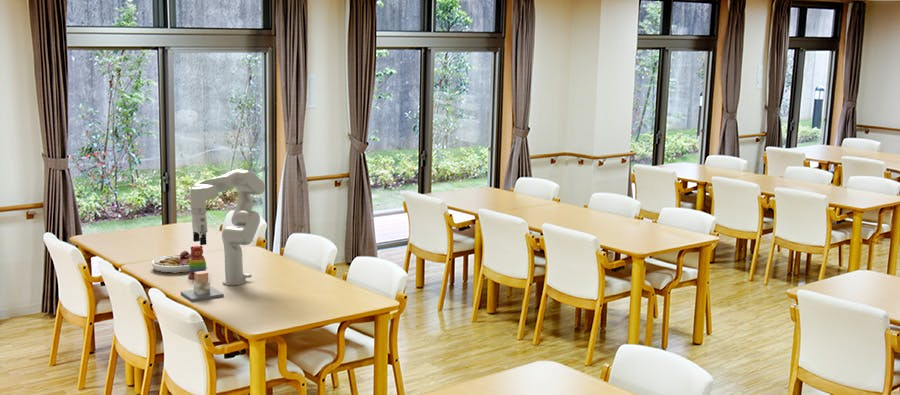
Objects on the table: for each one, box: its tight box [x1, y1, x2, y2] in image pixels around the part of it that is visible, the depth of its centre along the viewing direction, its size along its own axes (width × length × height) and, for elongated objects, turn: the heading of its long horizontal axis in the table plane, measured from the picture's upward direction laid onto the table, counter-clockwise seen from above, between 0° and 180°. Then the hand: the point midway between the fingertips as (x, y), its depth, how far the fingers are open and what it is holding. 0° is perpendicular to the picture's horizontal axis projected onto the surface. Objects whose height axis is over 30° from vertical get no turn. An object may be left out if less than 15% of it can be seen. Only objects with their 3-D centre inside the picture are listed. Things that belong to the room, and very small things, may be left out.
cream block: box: [193, 280, 211, 295], centre depth 490 cm, size 6×6×6 cm
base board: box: [180, 286, 225, 303], centre depth 490 cm, size 17×17×2 cm
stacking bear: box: [187, 245, 207, 279], centre depth 527 cm, size 11×10×18 cm
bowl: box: [151, 250, 192, 274], centre depth 547 cm, size 30×30×8 cm
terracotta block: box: [194, 270, 210, 284], centre depth 489 cm, size 6×6×5 cm
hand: (199, 243), depth 486 cm, fingers open, 9 cm apart
